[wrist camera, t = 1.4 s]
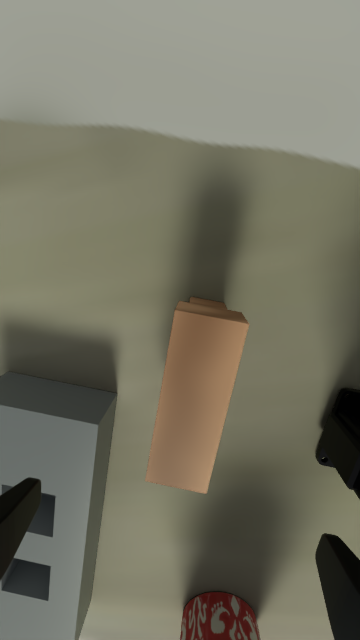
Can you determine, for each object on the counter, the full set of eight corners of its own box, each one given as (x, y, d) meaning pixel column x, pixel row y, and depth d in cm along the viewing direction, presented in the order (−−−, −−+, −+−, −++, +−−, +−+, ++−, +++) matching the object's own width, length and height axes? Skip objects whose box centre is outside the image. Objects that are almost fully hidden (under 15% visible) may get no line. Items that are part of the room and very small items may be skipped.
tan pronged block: (232, 300, 19) (249, 323, 12) (204, 422, 21) (206, 493, 15) (183, 291, 19) (174, 310, 12) (161, 413, 21) (145, 480, 15)
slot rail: (117, 393, 21) (98, 424, 17) (90, 600, 27) (72, 658, 23) (8, 371, 21) (-35, 397, 17) (6, 581, 27) (-26, 635, 23)
